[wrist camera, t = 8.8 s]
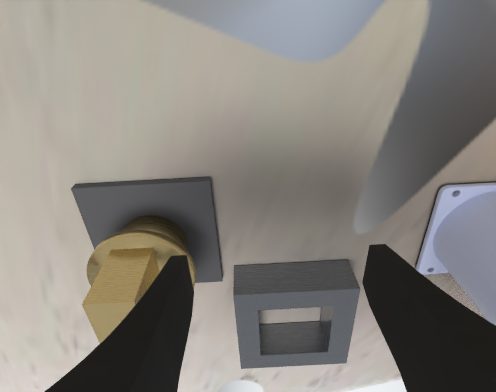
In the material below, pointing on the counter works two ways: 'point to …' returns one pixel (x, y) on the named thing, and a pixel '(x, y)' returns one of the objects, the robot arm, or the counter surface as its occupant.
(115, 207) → the mat
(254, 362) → the housing
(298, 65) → the counter surface
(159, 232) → the end cover
